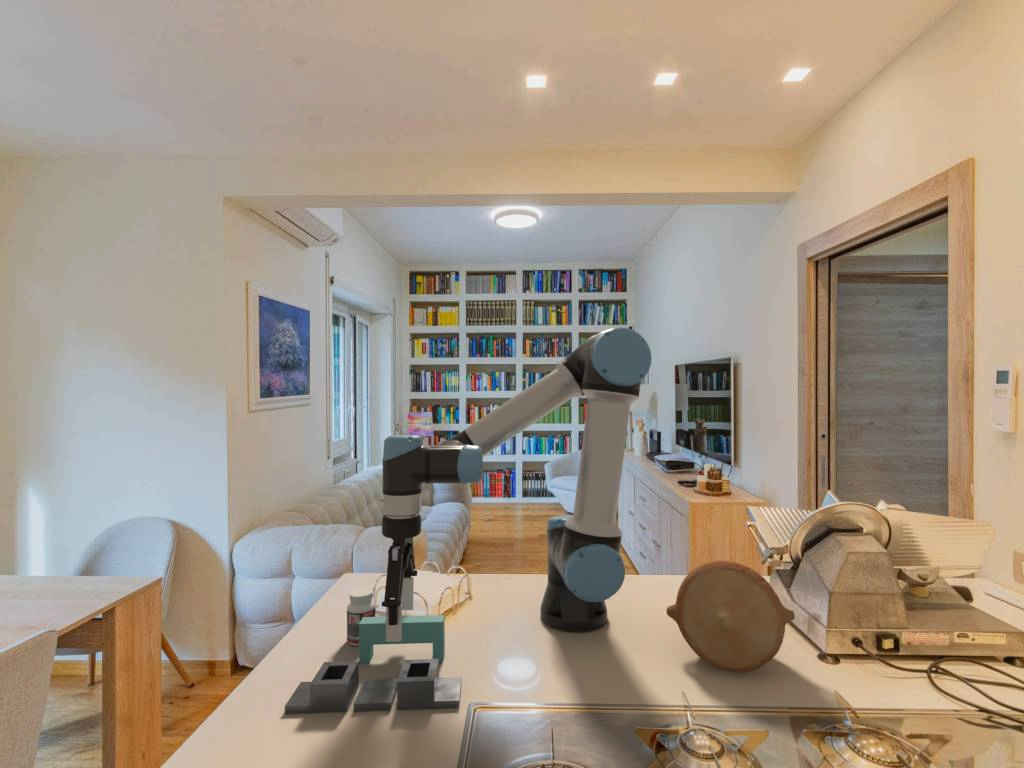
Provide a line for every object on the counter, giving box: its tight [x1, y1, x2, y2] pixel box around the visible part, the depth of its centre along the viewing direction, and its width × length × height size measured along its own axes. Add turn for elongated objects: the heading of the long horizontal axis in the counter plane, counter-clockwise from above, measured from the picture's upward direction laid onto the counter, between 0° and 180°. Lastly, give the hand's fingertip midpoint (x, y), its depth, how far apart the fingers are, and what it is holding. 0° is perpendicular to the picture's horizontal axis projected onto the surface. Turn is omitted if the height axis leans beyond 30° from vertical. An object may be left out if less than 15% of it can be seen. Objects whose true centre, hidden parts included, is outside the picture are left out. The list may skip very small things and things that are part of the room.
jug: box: [666, 560, 796, 673], centre depth 103 cm, size 20×19×30 cm
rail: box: [284, 658, 463, 715], centre depth 87 cm, size 28×7×4 cm, turn 92°
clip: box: [358, 614, 446, 665], centre depth 100 cm, size 16×3×8 cm, turn 92°
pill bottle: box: [346, 587, 376, 647], centre depth 107 cm, size 6×6×10 cm
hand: (400, 624), depth 100 cm, fingers open, 13 cm apart
